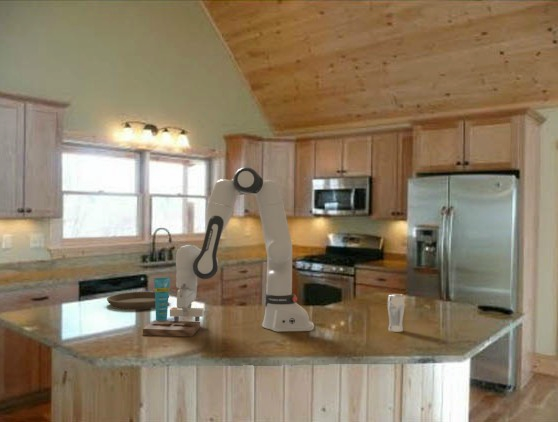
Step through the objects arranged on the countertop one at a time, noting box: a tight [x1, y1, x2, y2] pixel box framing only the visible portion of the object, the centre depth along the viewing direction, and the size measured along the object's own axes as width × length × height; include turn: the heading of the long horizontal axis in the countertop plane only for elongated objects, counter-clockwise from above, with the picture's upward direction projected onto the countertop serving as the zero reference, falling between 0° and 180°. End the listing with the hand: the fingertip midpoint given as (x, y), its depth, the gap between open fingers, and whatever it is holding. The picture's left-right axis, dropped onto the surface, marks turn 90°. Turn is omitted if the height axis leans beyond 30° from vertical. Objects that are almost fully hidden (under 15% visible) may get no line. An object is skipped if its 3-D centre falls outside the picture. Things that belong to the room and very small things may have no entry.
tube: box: [153, 276, 171, 321], centre depth 214 cm, size 7×5×19 cm, turn 123°
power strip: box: [169, 306, 205, 322], centre depth 204 cm, size 14×3×6 cm, turn 87°
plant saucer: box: [106, 291, 170, 311], centre depth 246 cm, size 31×31×5 cm
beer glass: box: [387, 293, 405, 333], centre depth 202 cm, size 7×7×15 cm
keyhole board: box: [142, 319, 201, 337], centre depth 195 cm, size 20×14×2 cm
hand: (186, 314), depth 204 cm, fingers closed on power strip, 3 cm apart
